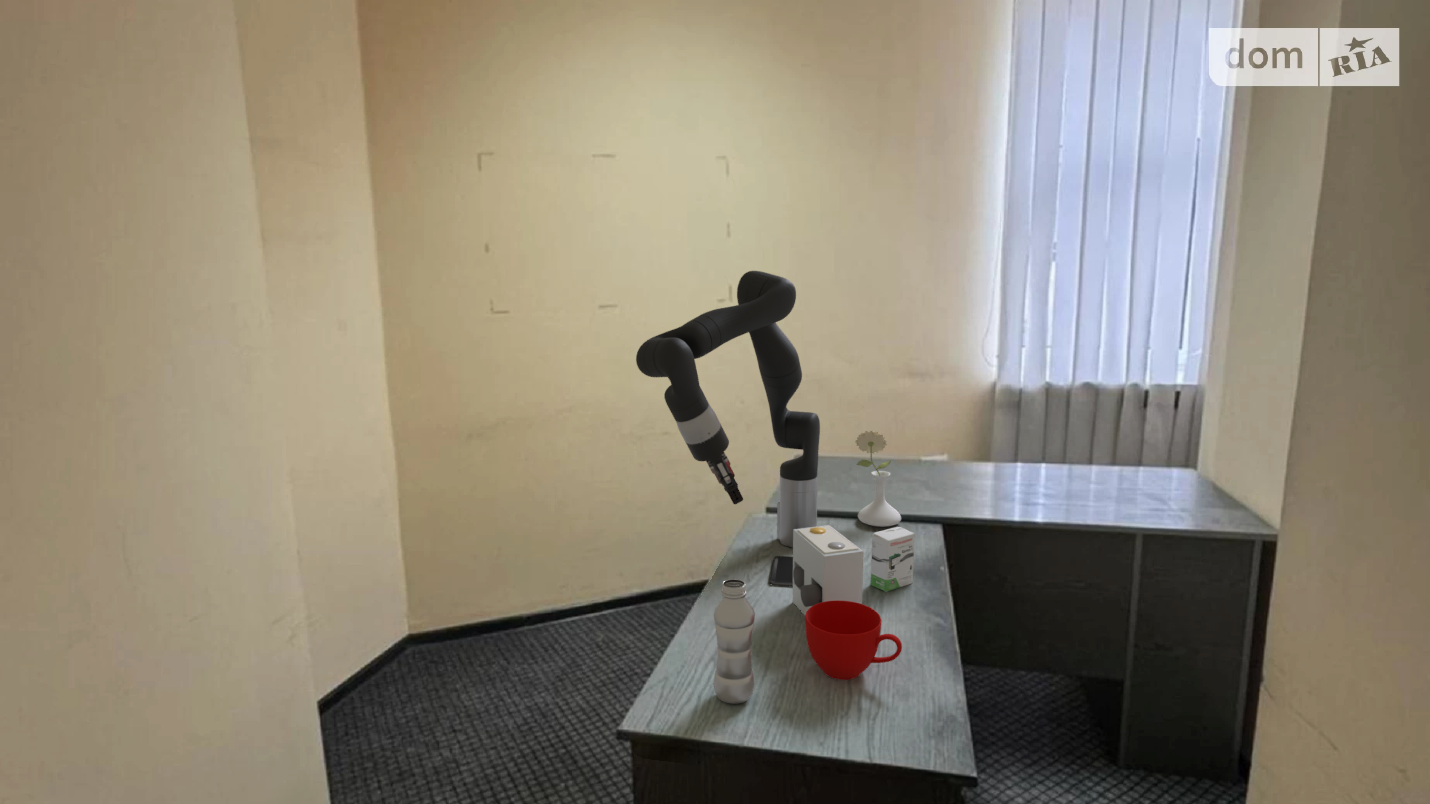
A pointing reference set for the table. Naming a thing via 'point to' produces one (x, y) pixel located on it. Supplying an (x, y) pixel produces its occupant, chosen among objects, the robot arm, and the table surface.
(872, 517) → the flower in vase
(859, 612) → the ceramic cup
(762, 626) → the table surface
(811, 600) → the button
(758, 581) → the table surface
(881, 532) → the ink box
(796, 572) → the button
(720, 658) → the plastic bottle
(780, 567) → the phone
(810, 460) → the robot arm
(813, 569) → the console
